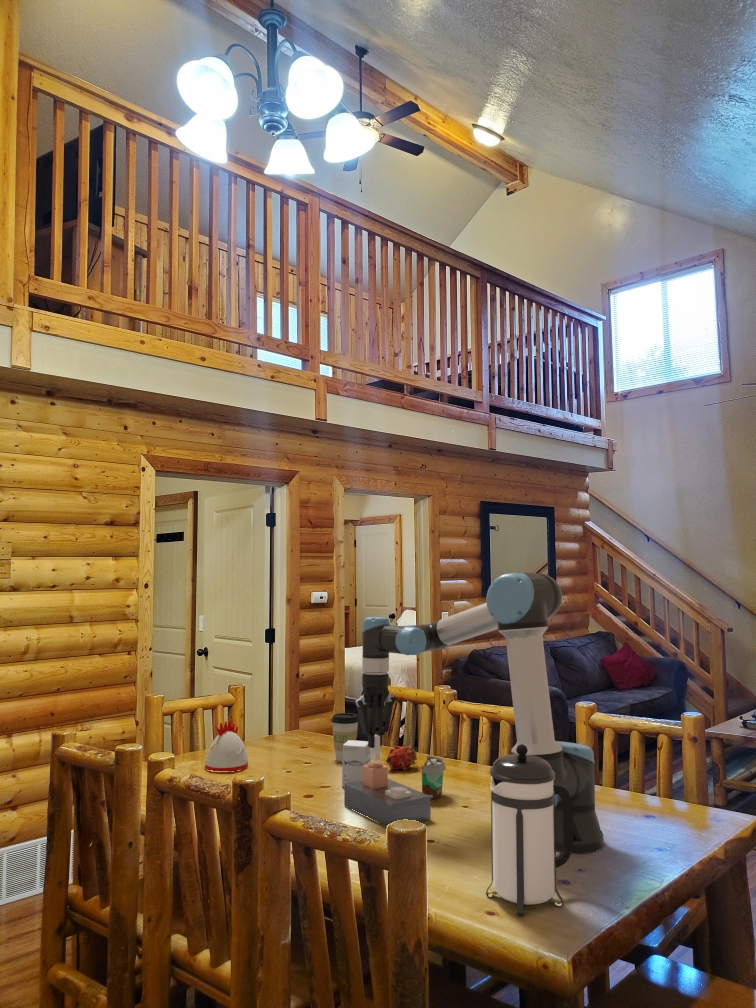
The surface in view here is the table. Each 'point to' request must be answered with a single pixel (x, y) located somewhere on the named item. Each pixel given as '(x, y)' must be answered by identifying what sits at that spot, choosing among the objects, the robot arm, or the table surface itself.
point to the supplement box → (354, 760)
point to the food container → (433, 777)
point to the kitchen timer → (227, 751)
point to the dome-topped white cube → (397, 792)
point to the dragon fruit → (401, 757)
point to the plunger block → (387, 803)
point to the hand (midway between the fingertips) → (375, 759)
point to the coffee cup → (343, 731)
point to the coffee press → (526, 829)
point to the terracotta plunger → (375, 775)
